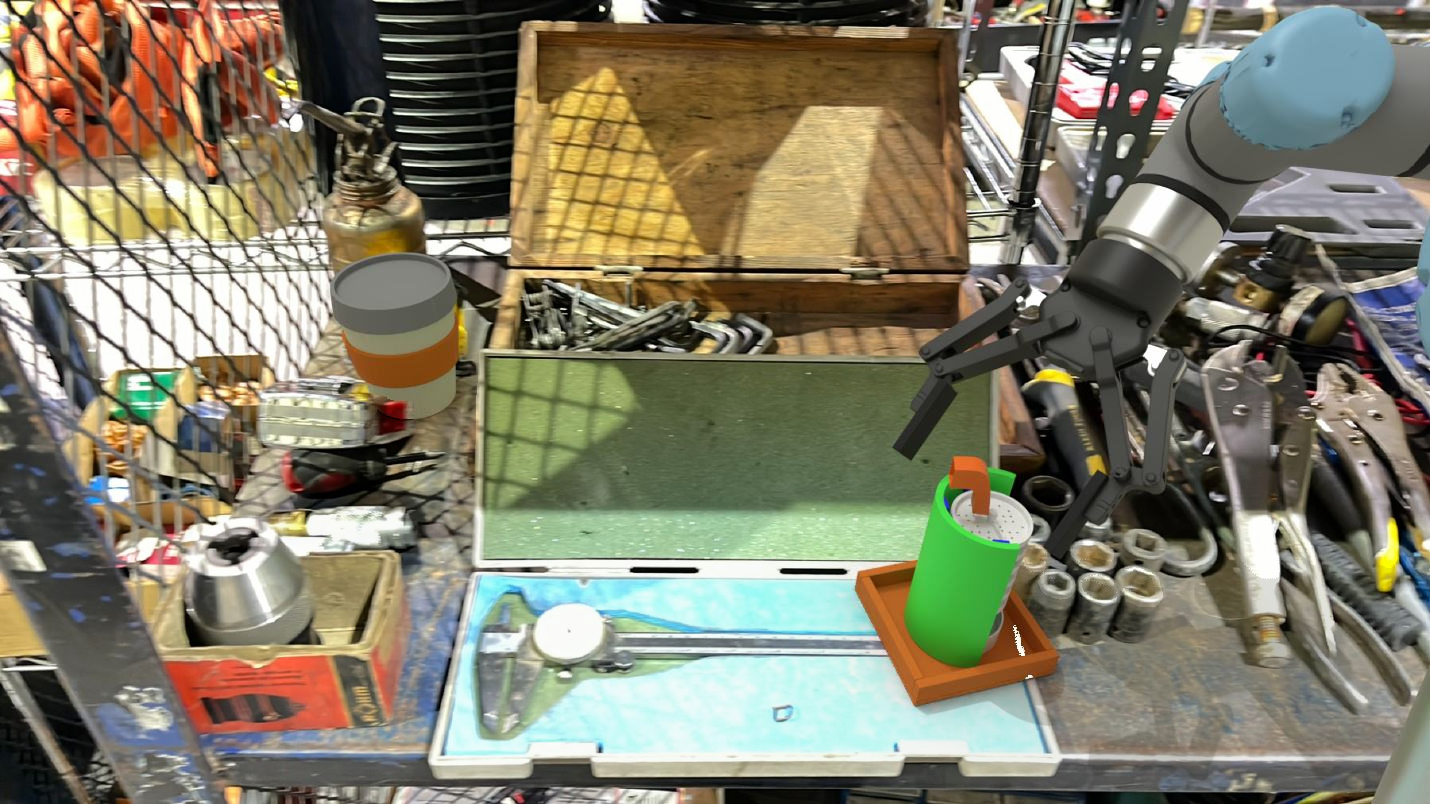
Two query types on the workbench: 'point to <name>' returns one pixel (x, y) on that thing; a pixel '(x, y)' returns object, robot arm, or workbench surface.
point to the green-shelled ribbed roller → (967, 563)
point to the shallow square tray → (934, 678)
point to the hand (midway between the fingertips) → (971, 501)
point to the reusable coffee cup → (400, 327)
